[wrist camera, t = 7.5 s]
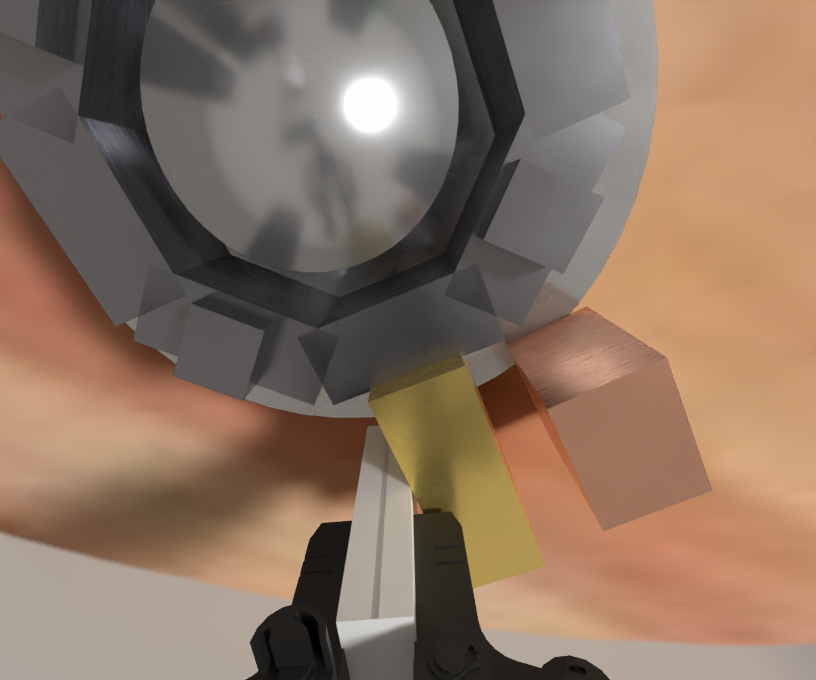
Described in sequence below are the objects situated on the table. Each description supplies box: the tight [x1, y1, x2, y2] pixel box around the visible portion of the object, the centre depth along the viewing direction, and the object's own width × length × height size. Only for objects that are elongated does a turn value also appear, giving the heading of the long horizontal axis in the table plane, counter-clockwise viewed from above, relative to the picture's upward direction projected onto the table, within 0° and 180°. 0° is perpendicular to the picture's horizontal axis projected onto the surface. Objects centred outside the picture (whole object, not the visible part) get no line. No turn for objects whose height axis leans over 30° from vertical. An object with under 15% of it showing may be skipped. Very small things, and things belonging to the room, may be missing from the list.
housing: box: [125, 0, 712, 531], centre depth 11 cm, size 21×18×6 cm
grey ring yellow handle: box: [0, 0, 630, 588], centre depth 10 cm, size 19×12×4 cm, turn 23°
